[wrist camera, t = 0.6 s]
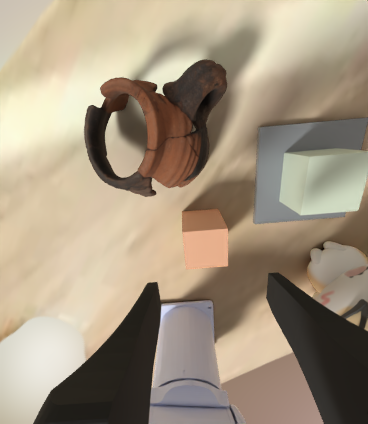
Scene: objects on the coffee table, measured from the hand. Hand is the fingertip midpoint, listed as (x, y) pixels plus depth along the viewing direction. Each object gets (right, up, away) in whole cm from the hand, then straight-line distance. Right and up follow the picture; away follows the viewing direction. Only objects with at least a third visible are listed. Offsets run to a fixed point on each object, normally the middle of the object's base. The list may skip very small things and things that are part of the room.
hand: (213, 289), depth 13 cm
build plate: (+11, +9, +8) cm, 16 cm away
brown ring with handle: (-4, +13, +6) cm, 15 cm away
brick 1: (0, +3, +10) cm, 10 cm away
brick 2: (+11, +9, +7) cm, 16 cm away
